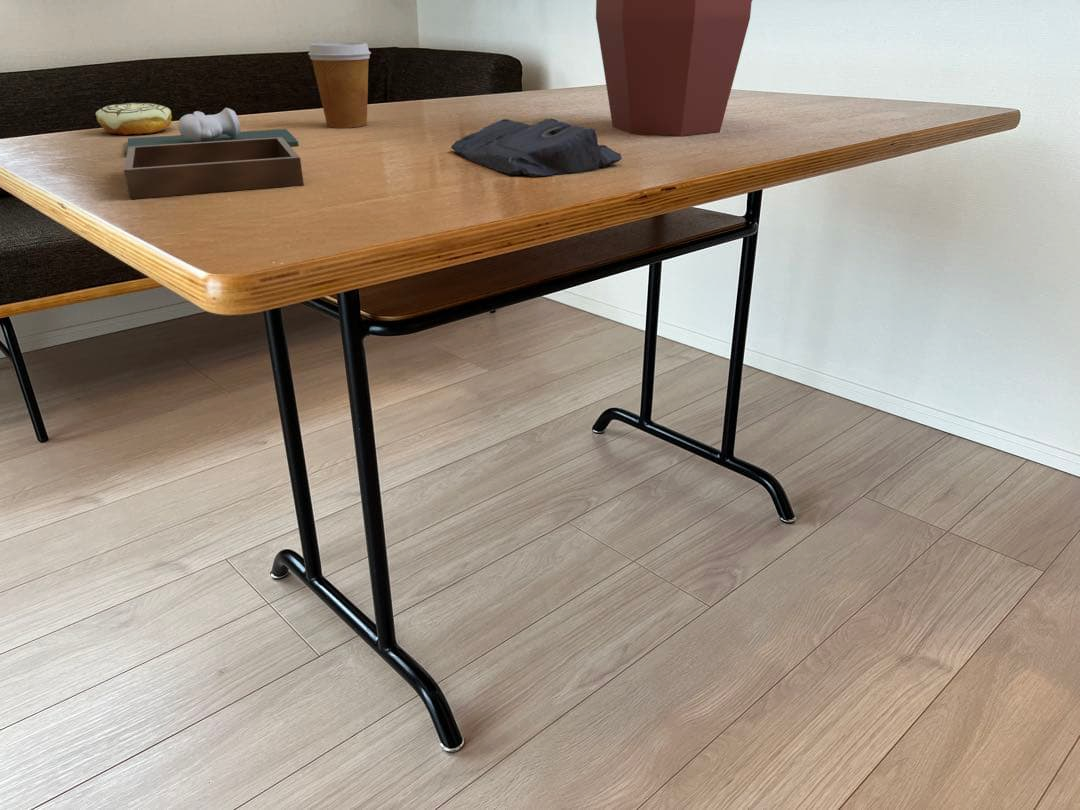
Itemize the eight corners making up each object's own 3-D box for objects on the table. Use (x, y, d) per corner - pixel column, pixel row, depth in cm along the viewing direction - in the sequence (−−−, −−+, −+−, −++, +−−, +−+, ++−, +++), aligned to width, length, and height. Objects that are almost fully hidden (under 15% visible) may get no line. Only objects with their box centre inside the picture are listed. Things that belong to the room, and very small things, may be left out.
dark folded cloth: (543, 141, 118) (543, 106, 116) (630, 167, 100) (632, 126, 98) (443, 151, 111) (441, 113, 109) (518, 179, 94) (517, 136, 92)
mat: (126, 157, 108) (124, 152, 108) (128, 142, 119) (127, 138, 119) (298, 145, 116) (298, 141, 115) (286, 132, 126) (286, 128, 126)
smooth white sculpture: (183, 153, 114) (180, 136, 117) (244, 147, 116) (239, 131, 120) (177, 123, 111) (174, 106, 114) (239, 118, 113) (234, 102, 117)
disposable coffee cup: (361, 119, 139) (353, 41, 134) (387, 125, 133) (380, 44, 127) (307, 124, 134) (297, 43, 129) (331, 131, 127) (322, 46, 122)
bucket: (775, 128, 128) (796, -58, 116) (686, 145, 114) (700, -63, 103) (651, 114, 144) (660, -51, 132) (560, 127, 130) (561, -55, 119)
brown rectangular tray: (130, 199, 86) (123, 169, 85) (133, 172, 99) (128, 146, 97) (303, 185, 92) (300, 157, 91) (285, 161, 105) (282, 136, 103)
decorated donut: (109, 138, 122) (103, 111, 120) (94, 130, 130) (88, 104, 128) (182, 131, 128) (177, 105, 126) (163, 123, 135) (158, 99, 134)
